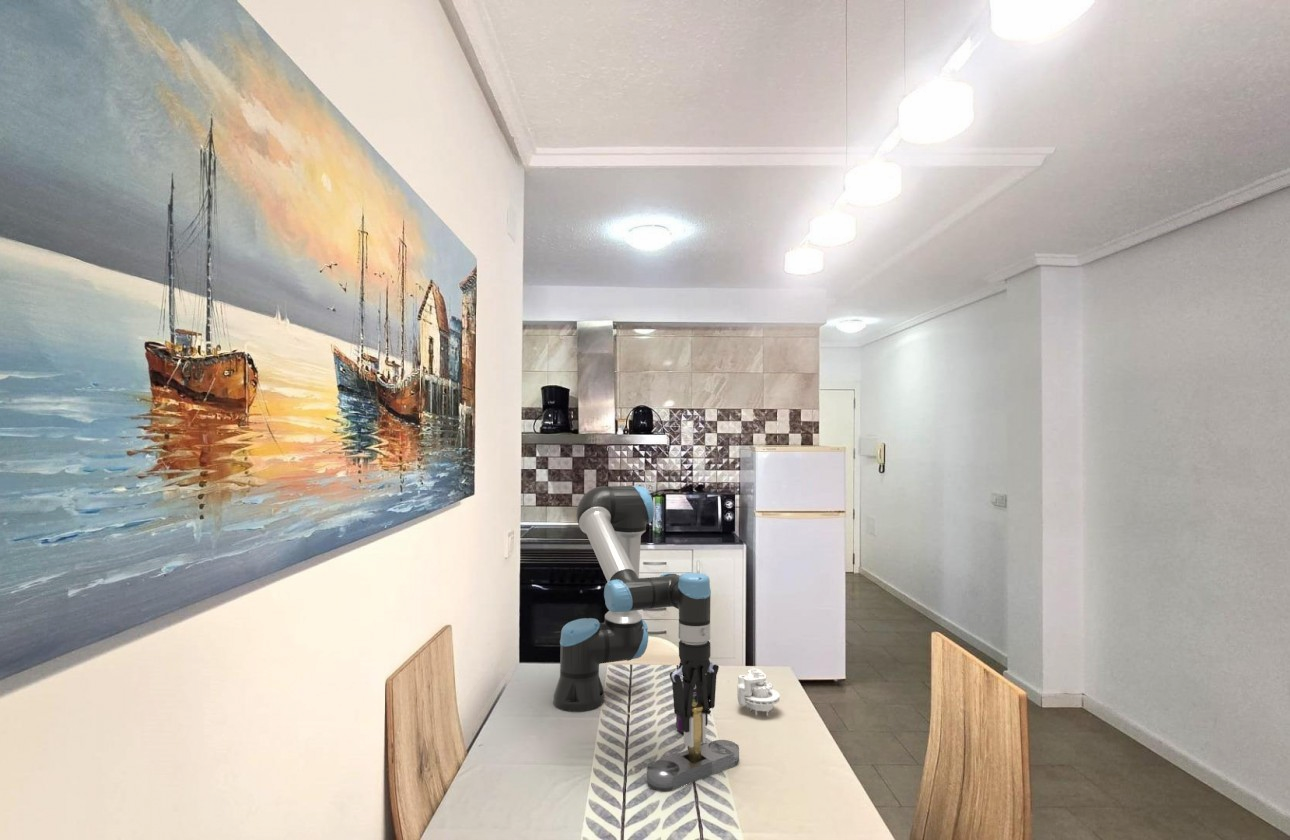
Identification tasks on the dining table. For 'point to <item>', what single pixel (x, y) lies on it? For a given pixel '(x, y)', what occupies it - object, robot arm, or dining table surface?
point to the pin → (696, 733)
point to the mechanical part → (756, 692)
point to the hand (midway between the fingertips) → (694, 742)
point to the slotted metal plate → (692, 765)
